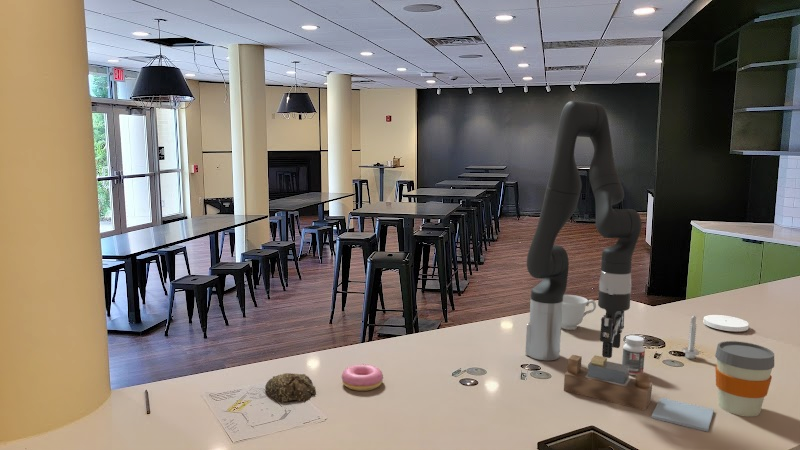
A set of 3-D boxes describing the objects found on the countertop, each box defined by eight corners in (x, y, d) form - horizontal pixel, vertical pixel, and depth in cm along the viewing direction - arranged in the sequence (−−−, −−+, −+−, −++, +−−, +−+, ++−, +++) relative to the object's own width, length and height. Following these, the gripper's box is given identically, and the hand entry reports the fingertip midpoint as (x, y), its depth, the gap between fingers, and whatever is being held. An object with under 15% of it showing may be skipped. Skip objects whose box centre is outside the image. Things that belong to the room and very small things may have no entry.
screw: (701, 357, 185) (694, 361, 182) (685, 353, 189) (678, 357, 186) (706, 316, 183) (698, 319, 180) (689, 312, 187) (682, 315, 184)
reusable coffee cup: (767, 424, 143) (775, 362, 141) (707, 411, 150) (713, 351, 147) (769, 405, 153) (776, 347, 151) (713, 393, 160) (718, 337, 158)
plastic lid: (697, 320, 224) (698, 313, 223) (738, 322, 222) (739, 316, 221) (711, 332, 210) (711, 325, 209) (755, 335, 208) (755, 328, 208)
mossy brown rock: (262, 387, 160) (261, 368, 159) (309, 380, 164) (309, 362, 164) (272, 407, 148) (272, 387, 147) (322, 399, 153) (322, 380, 152)
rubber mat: (651, 417, 145) (651, 415, 145) (660, 399, 155) (660, 397, 155) (707, 431, 139) (707, 429, 139) (713, 411, 149) (713, 409, 149)
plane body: (563, 390, 160) (565, 360, 159) (571, 381, 166) (573, 352, 165) (645, 410, 149) (647, 378, 148) (650, 399, 155) (653, 369, 154)
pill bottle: (644, 376, 170) (647, 342, 168) (623, 374, 171) (625, 340, 170) (641, 369, 175) (643, 335, 174) (620, 367, 177) (622, 333, 175)
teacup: (599, 333, 206) (601, 304, 204) (554, 332, 206) (556, 303, 205) (589, 322, 218) (591, 294, 216) (546, 321, 218) (548, 293, 217)
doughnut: (364, 372, 170) (364, 358, 169) (392, 385, 162) (392, 370, 161) (332, 383, 162) (332, 368, 161) (360, 397, 154) (360, 381, 154)
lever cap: (587, 376, 157) (588, 359, 156) (592, 370, 161) (593, 354, 161) (624, 384, 152) (625, 367, 152) (628, 378, 157) (629, 361, 156)
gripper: (606, 281, 161) (603, 341, 164) (591, 293, 149) (588, 357, 152) (636, 285, 157) (632, 347, 160) (624, 297, 145) (620, 363, 148)
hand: (611, 352), depth 156 cm, fingers open, 8 cm apart
